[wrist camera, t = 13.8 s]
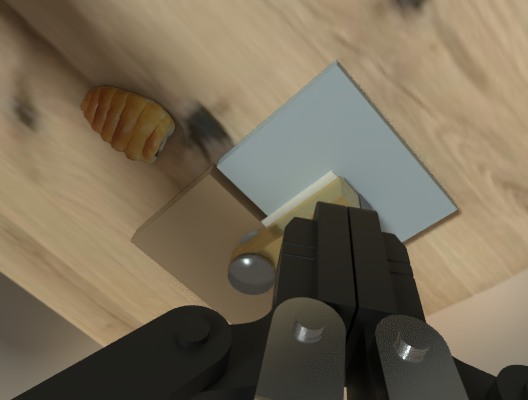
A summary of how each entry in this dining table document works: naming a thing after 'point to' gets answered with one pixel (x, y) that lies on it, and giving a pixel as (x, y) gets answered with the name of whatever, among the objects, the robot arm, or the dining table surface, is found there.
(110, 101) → the pastry
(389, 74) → the dining table surface
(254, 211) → the door mock-up
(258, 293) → the swing bar
